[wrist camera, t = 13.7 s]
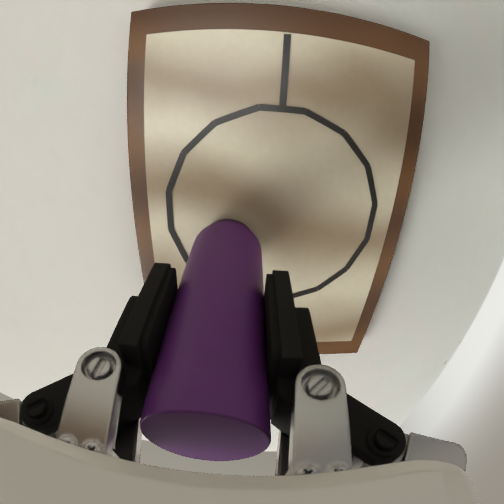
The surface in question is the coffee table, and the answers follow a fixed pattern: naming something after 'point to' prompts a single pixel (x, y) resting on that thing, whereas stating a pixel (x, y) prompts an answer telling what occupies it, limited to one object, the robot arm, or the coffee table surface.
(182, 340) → the marker
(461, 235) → the coffee table surface
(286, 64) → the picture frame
